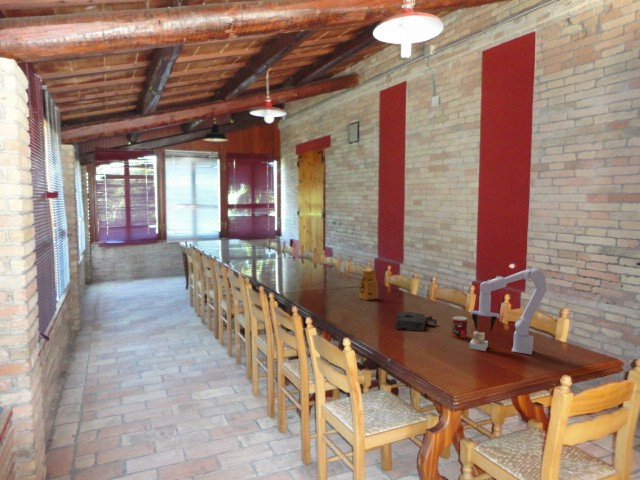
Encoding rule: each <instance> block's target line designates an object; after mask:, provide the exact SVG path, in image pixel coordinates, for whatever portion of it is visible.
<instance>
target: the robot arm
mask: <svg viewBox="0 0 640 480" xmlns="http://www.w3.org/2000/svg"><path fill="white" fill-rule="evenodd" d="M520 280H525V281H526V280H527V281H530V280H531V282H533V284H534V286H535V289H534V291H533V293H532V295H531V297H530V299H529V301H528V303H527V305H526V307H525V309H524V311H523V312H522V314H521V315H520V317H519V318H518V319H517V320H516V321H515V323H514V327H515V331H514V332H513V344H512V345H513V346H512V348H511V352H514V353H520V354H526V355H532V354H533V351H534V346H533V345H534V335H530V334H529V333H530V326H531V323H532V320H533V317H534V316H535V314H536V312H537V310H538V308H539V306H540V304H541V302H542V301H543V298H544V296H545V294H546V292H547V289H548V286H547V281H546V277H545V274H544V273H543V272H542V270H541V269H540V268H539V267H532V268H527V269H524V270H521V271H519V272H516V273H513V274H510V275H508V276H506V277H503V276H499V275H497V276H496V277H495V278H493V279H487V281H482V282H481V283H480V285H479V297H478V299H479V300H478V302H479V303H478V310H469V311H470V312H469V314H470V315H471V319H472V321H473V323H474V328H475V329H476V330H477V329H478V319H479V318H478V317H481V316H482V317H487V318H488V317H489V318H490V332H493V329H494V324H495V323H496V320H497V319H500V313H496V312H493V311H492V312H491V307H492V306H491V303H492V295H491V292H493V291H497V290H499V289H500V290H501V289H503V288H505V287H507V284H510V283H513V282H516V281H520ZM475 329H474V330H475Z"/></svg>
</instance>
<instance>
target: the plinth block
mask: <svg viewBox="0 0 640 480" xmlns="http://www.w3.org/2000/svg"><path fill="white" fill-rule="evenodd" d="M468 345H469V347H468V348H469V349H470V350H476V351H483V352H486V351H487V348H488V345H489V340H485V341H484V343H483V344H478V343H473V338H472V339H471V340H470V342H469V344H468Z"/></svg>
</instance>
